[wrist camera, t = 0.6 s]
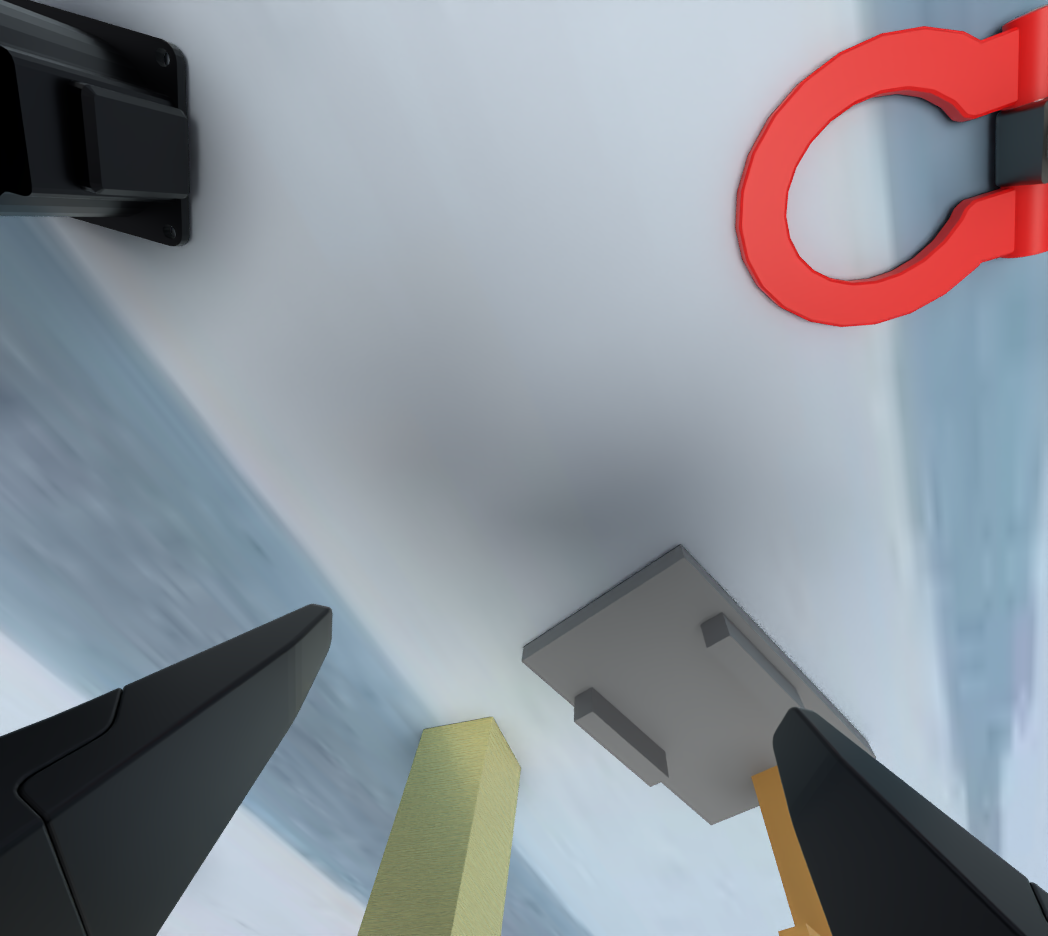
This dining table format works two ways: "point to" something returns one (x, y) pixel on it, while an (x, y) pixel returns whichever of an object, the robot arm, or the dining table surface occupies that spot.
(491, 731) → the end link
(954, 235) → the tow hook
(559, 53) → the dining table surface
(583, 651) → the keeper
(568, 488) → the dining table surface
